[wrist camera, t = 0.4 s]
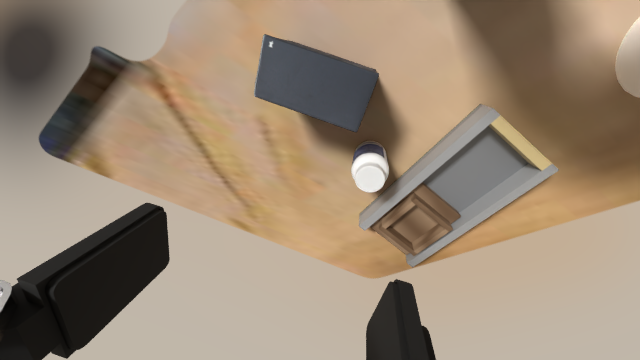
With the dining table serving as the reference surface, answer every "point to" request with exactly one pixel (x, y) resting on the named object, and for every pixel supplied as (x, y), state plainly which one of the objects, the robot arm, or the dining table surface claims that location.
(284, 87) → the small box
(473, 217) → the bay
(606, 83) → the dining table surface
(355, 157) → the pill bottle
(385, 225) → the crate
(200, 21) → the dining table surface
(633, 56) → the honey pot
